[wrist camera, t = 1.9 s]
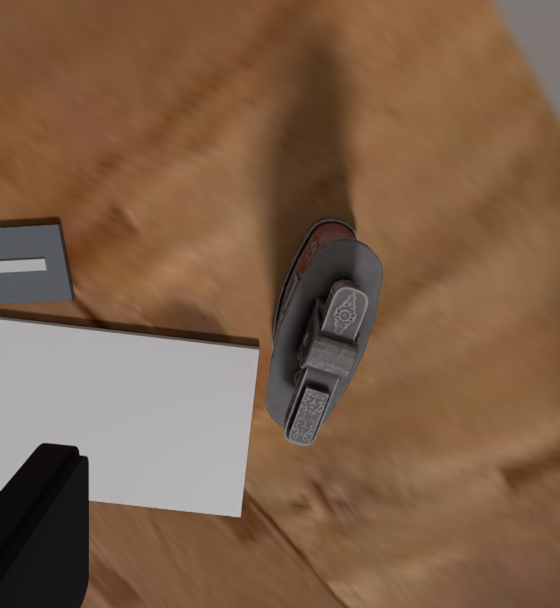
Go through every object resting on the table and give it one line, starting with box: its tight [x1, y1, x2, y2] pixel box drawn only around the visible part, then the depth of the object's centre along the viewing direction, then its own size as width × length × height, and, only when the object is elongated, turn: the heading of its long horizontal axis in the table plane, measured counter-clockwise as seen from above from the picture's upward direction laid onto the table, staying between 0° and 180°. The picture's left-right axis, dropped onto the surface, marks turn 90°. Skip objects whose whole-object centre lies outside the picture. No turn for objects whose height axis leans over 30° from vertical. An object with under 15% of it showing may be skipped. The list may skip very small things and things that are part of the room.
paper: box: [0, 317, 260, 517], centre depth 28 cm, size 15×11×1 cm
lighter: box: [266, 217, 383, 446], centre depth 21 cm, size 8×3×10 cm, turn 162°
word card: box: [0, 224, 74, 304], centre depth 26 cm, size 6×4×1 cm, turn 93°
